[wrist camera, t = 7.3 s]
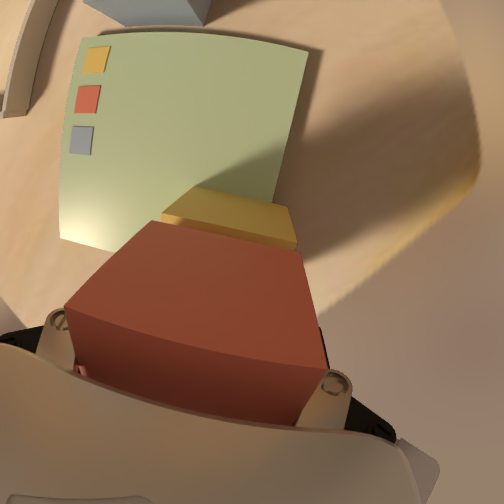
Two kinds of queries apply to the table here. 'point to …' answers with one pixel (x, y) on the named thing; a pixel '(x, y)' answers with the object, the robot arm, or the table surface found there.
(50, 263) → the table surface
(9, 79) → the beige open rectangular frame
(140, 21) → the slate block
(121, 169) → the building board
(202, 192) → the ochre block
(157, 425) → the robot arm
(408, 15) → the table surface
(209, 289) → the red block
